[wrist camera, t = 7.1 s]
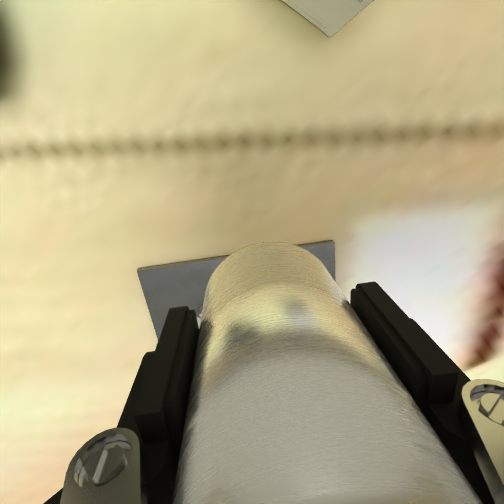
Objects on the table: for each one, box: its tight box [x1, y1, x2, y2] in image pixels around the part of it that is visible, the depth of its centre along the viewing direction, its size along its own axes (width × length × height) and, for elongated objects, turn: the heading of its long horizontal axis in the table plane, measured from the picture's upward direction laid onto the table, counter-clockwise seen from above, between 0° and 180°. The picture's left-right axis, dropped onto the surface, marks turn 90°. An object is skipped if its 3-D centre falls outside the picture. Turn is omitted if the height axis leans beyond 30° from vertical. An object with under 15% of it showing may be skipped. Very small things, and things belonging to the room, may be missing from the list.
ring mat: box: [137, 240, 335, 341], centre depth 32 cm, size 19×19×2 cm
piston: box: [172, 242, 483, 504], centre depth 8 cm, size 5×5×8 cm
